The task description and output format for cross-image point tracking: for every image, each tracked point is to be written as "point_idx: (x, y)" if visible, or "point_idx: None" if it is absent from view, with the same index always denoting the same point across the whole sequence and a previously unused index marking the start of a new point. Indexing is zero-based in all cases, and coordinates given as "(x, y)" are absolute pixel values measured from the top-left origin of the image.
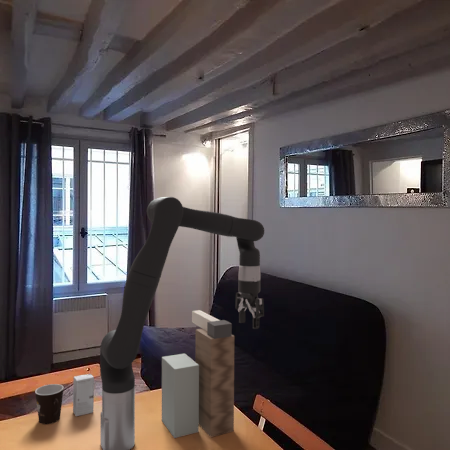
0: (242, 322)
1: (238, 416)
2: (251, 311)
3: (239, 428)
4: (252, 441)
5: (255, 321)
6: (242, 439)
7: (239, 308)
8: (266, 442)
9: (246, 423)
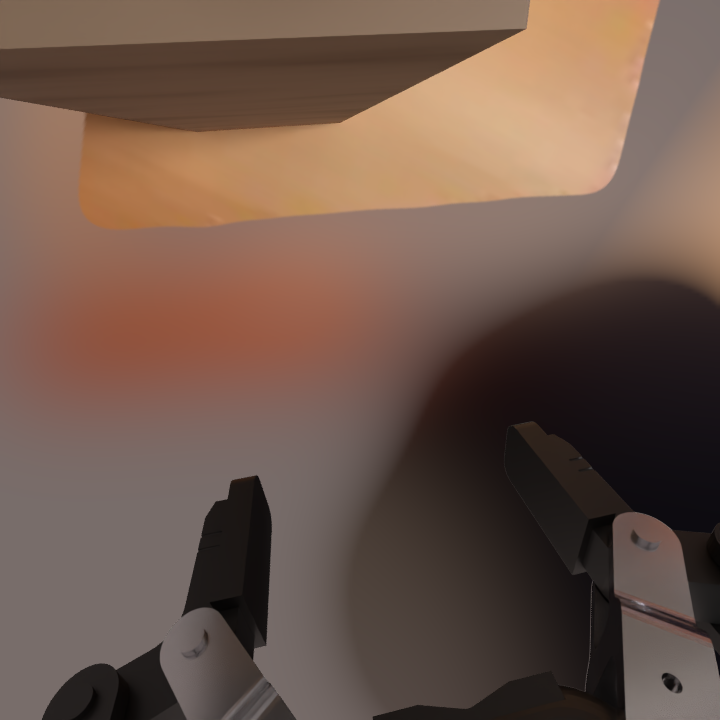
0: (508, 446)
1: (299, 201)
2: (243, 708)
3: (212, 164)
4: (110, 169)
5: (205, 568)
6: (129, 137)
7: (655, 574)
8: (97, 215)
9: (241, 206)
